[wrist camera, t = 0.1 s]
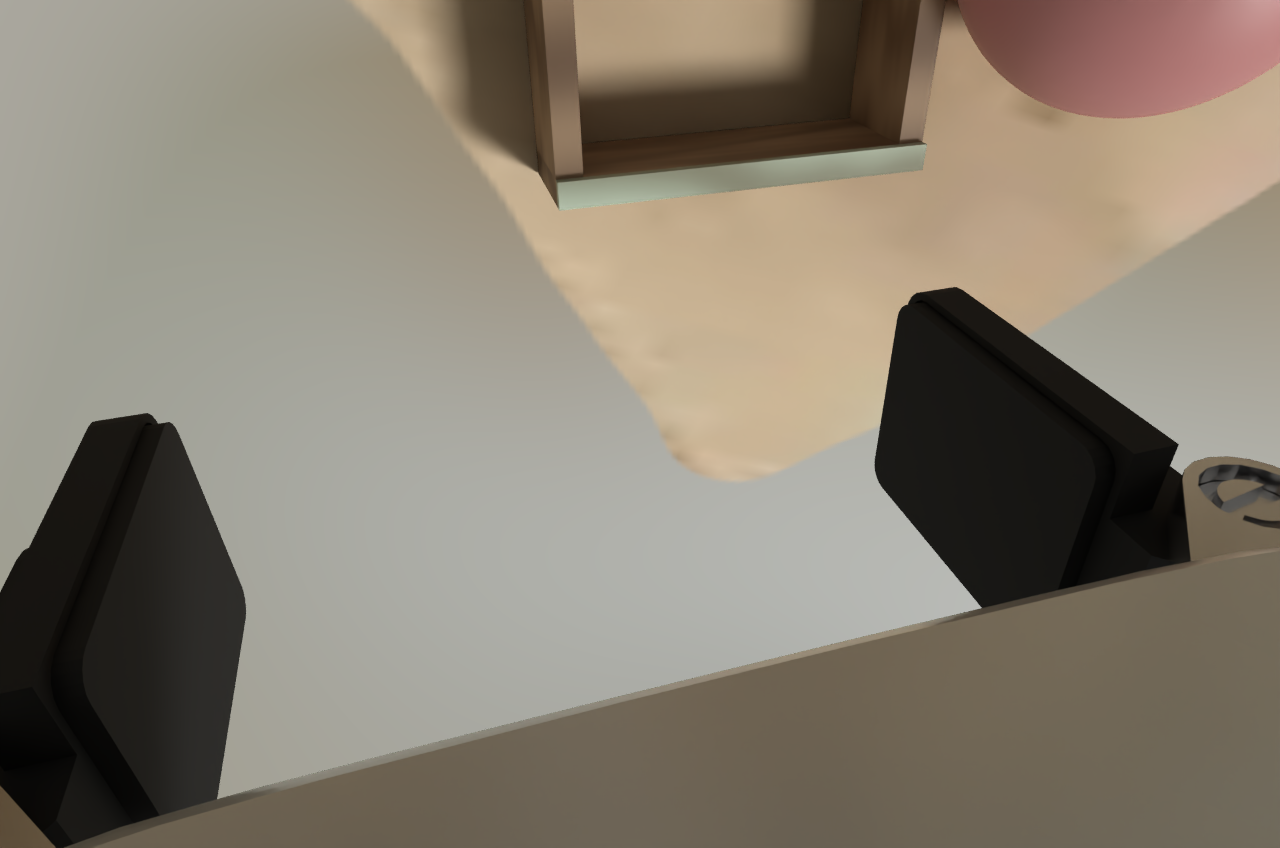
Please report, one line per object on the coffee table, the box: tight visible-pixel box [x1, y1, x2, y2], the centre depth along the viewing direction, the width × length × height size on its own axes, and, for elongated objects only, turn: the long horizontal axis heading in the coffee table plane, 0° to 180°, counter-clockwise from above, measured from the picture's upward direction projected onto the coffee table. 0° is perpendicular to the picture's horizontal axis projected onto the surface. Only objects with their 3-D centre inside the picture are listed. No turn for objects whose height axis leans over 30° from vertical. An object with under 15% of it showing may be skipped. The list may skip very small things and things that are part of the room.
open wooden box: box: [524, 0, 946, 211], centre depth 36 cm, size 12×17×5 cm
